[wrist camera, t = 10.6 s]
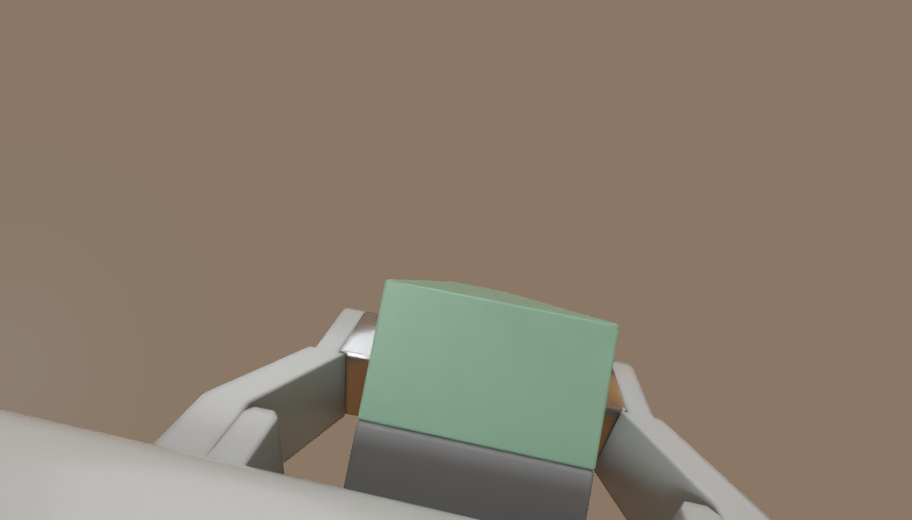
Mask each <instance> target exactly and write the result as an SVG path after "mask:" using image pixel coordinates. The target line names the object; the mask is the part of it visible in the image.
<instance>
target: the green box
mask: <svg viewBox="0 0 912 520" xmlns="http://www.w3.org/2000/svg"><path fill="white" fill-rule="evenodd" d="M618 331H619V325H617V324H615V323H612V322H608V321H605V320H601V319H598V318H594V317H591V316H587V315H584V314H580V313H577V312H573V311H570V310H566V309H563V308H559V307H556V306H553V305H549V304H545V303H542V302H539V301H535V300H532V299H528V298H524V297H521V296H518V295H514V294H511V293H507V292H503V291H499V290H494V289H488V288H483V287H478V286H473V285H468V284H463V283H457V282H447V281H420V280H391V279H389V280H386V282H385V285H384V290H383V295H382V300H381V305H380V310H379V315H378V320H377V325H376V329H375V334H374V339H373V344H372V349H371V354H370V359H369V364H368V369H367V374H366V379H365V384H364V389H363V394H362V398H361V403H360V408H359V413H358V417H359V421H358V422H357V425H356V430H355V435H354V439H353V445H352V449H351V454H350V459H349V464H348V469H347V475H346V480H345V484H344V488H345V489H349V490H353V491H358V492H362V493H367V494H371V495H375V496H380V497H384V498H388V499H393V500H397V501H401V502H406V503H410V504H414V505H419V506H423V507H427V508H432V509H436V510H440V511H445V512H449V513H453V514H458V515H462V516H466V517H471V518H475V519H479V520H586V517H587V511H588V505H589V499H590V494H591V487H592V482H593V476H594V474H593V471H592V470H594V469H595V467H596V462H597V456H598V450H599V444H600V438H601V432H602V426H603V420H604V414H605V409H606V403H607V397H608V391H609V385H610V379H611V373H612V367H613V361H614V355H615V349H616V344H617V338H618Z"/></svg>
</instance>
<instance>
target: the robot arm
mask: <svg viewBox="0 0 912 520" xmlns="http://www.w3.org/2000/svg"><path fill="white" fill-rule="evenodd" d="M378 315H379V314H376V313H371V312H365V311H361V310H356V309H352V308H346V309H344V310H343V311H342V313H341V314H340V315H339V316H338V318H337V319H336V321H335V322H334V323H333V325H332V326H331V327H330V329H329V330H328V331H327V333H326V334H325V335H324V337H323V338H322V340H321V341H320V342H319V344H318V345H317V346H316V348H315V347H307V348H305V349H303V350H300V351H298V352H296V353H294V354H292V355H289V356H287V357H285V358H282V359H280V360H278V361H276V362H273V363H271V364H269V365H267V366H264V367H262V368H260V369H258V370H255V371H253V372H251V373H248V374H246V375H244V376H241V377H239V378H237V379H235V380H232V381H230V382H228V383H226V384H224V385H221V386H219V387H217V388H214V389H212V390H210V391H208V392H205V393H203V394H202V395H201V396H200V397H199V398H198V399H197V400H196V401H195V402H194V403H193V404H192V405H191V406H190V407H189V408H188V409H187V411H185V413H183V414H182V415H181V417H179V419H178V420H177V421H176V422H175V423H174V424H173V425H172V426H171V427H170V428H169V429H168V430H167V431H166V432H165V433H164V434H163V435H162V436H161V437H160V438H159V439H158V440H157V441H156V442H155V443H154V444H149V443H144V442H140V441H135V440H131V439H127V438H122V437H118V436H114V435H110V434H105V433H101V432H96V431H92V430H88V429H84V428H79V427H75V426H70V425H66V424H62V423H57V422H53V421H49V420H44V419H40V418H36V417H31V416H27V415H22V414H18V413H14V412H9V411H5V410H1V409H0V520H479V519H475V518H471V517H466V516H462V515H458V514H453V513H449V512H445V511H440V510H436V509H432V508H427V507H423V506H419V505H414V504H410V503H406V502H401V501H397V500H393V499H388V498H384V497H380V496H375V495H371V494H367V493H362V492H358V491H353V490H349V489H345V488H340V487H336V486H331V485H327V484H323V483H319V482H314V481H310V480H306V479H301V478H297V477H292V476H288V475H284V469H283V463H284V462H285V461H287V460H288V459H289V458H291V457H292V456H293V455H295V454H296V453H297V452H298V451H300V450H301V449H302V448H304V447H305V446H306V445H307V444H309V443H310V442H311V441H313V440H314V439H315V438H316V437H318V436H319V435H320V434H321V433H323V432H324V431H325V430H327V429H328V428H329V427H331V426H332V425H333V424H334V423H336V422H337V421H338V420H340V419H341V418H342V417H344V415H345V414H350V415H356V416H358V413H359V408H360V403H361V398H362V394H363V389H364V384H365V379H366V374H367V369H368V364H369V359H370V354H371V349H372V344H373V339H374V334H375V329H376V325H377V320H378ZM594 471H595V473H596V474H597V476H598V477H599V479H600V480H601V482H602V483H603V485H604V486H605V488H606V489H607V491H608V492H609V494H610V495H611V497H612V498H613V500H614V501H615V503H616V504H617V506H618V507H619V509H620V510H621V512H622V513H623V515H624V516H625V518H626V519H627V520H771V519H770V518H769V517H768V516H767V515H766V514H765V513H764V512H763V511H761V510H760V509H759V508H758V507H757V506H756V505H755V504H754V503H753V502H752V501H750V500H749V499H748V498H747V497H746V496H745V495H744V494H743V493H742V492H741V491H739V490H738V489H737V488H736V487H735V486H734V485H732V483H731V482H729V481H728V480H727V479H726V478H725V477H724V476H723V475H722V474H721V473H719V472H718V471H717V470H716V469H715V468H714V467H713V466H712V465H711V464H709V463H708V462H707V461H706V460H705V459H704V458H703V457H702V456H701V455H700V454H698V453H697V452H696V451H695V450H694V449H693V448H692V447H691V446H690V445H689V444H687V443H686V442H685V441H684V440H683V439H682V438H681V437H680V436H678V435H677V434H676V433H675V432H674V431H673V430H672V429H671V428H670V427H669V426H667V425H666V424H665V423H664V422H663V421H662V420H661V419H657V418H654V417H653V415H652V412H651V410H650V408H649V405H648V403H647V401H646V398H645V396H644V394H643V391H642V389H641V386H640V384H639V382H638V379H637V377H636V375H635V372H634V370H633V368H632V366H631V365H630V364H628V363H622V362H616V361H613V367H612V373H611V379H610V385H609V391H608V397H607V403H606V409H605V414H604V420H603V426H602V432H601V438H600V444H599V450H598V456H597V462H596V467H595V469H594Z"/></svg>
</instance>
